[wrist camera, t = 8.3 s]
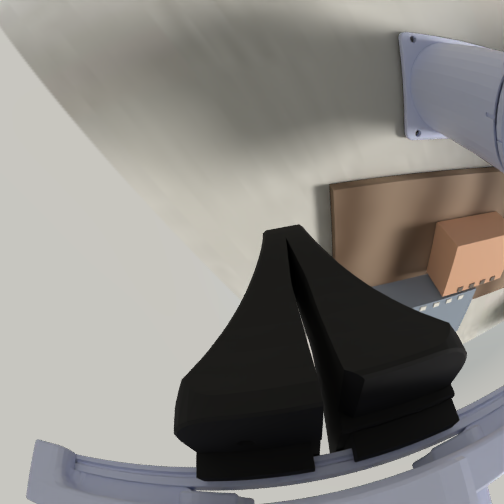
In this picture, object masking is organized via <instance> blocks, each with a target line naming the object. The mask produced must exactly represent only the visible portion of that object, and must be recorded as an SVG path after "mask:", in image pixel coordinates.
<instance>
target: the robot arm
mask: <svg viewBox="0 0 504 504" xmlns="http://www.w3.org/2000/svg"><path fill="white" fill-rule="evenodd" d="M411 36H412V38H413V42H411V40H410V37H411ZM399 46H400V55H401V65H402V77H403V92H404V119H405V136H406V137H407V138H408V139H410V140H423V139H451V140H453V141H455V142H456V143H458V144H460V145H461V146H463V147H465V148H466V149H468V150H470V151H471V152H473V153H474V154H476V155H478V156H479V157H481V158H482V159H484V160H485V161H487V162H488V163H490V164H491V165H493V166H494V167H495V168H497V169H498V170H500V171H501V172H503V173H504V52H503V51H499V50H493V49H490V48H487V47H483V46H479V45H475V44H471V43H467V42H463V41H458V40H454V39H448V38H443V37H438V36H432V35H425V34H418V33H410V32H401V33H400V34H399ZM417 130H418V134H417V135H415V133H416V131H417ZM297 306H298V307H297ZM298 309H299V310H298ZM299 312H300V314H299ZM300 315H301V318H302V321H303V324H304V327H305V330H306V333H307V336H308V339H309V342H310V346H311V350H312V354H313V359H314V363H313V360H312V356H311V353H310V350H309V346H308V343H307V339H306V336H305V332H304V329H303V325H302V322H301V318H300ZM466 356H467V352H466V351H465V348H464V346H463V344H462V343H461V340H460V339H459V337H458V335H457V333H456V332H455V331H454V329H453V328H452V326H451V325H450V323H448V322H446V321H443V320H440V319H438V318H435V317H432V316H429V315H427V314H424V313H421V312H419V311H417V310H415V309H412V308H410V307H408V306H406V305H404V304H401V303H400V302H398V301H396V300H394V299H392V298H390V297H388V296H386V295H385V294H383V293H381V292H379V291H377V290H376V289H374V288H372V287H371V286H369V285H368V284H366V283H365V282H363V281H362V280H360V279H359V278H358V277H356V276H355V275H353V274H352V273H351V272H350V271H348V270H347V269H346V268H345V267H343V266H342V265H341V264H340V263H338V262H337V261H336V260H335V259H334V258H333V257H332V256H331V255H329V254H328V253H327V252H326V251H325V250H324V249H323V248H322V247H321V246H320V245H319V244H318V243H317V242H316V241H315V240H314V239H313V238H312V237H311V236H310V235H309V234H308V233H307V231H306V230H305V229H304V228H303V227H302V226H301V225H293V226H288V227H282V228H277V229H271V230H266V231H265V232H264V233H263V241H262V247H261V251H260V255H259V259H258V262H257V265H256V268H255V271H254V274H253V276H252V279H251V281H250V284H249V286H248V289H247V291H246V293H245V295H244V297H243V299H242V301H241V303H240V305H239V307H238V308H237V310H236V312H235V313H234V315H233V317H232V319H231V320H230V322H229V323H228V325H227V326H226V328H225V329H224V331H223V332H222V334H221V335H220V336H219V338H218V339H217V340H216V341H215V343H214V344H213V345H212V347H211V348H210V349H209V351H208V352H207V353H206V354H205V355H204V357H203V358H202V359H201V360H200V361H199V362H198V363H197V364H196V365H195V366H194V367H193V368H192V369H191V371H190V372H189V373H188V374H187V375H186V376H185V377H184V378H183V379H182V381H181V384H180V388H179V391H178V396H177V400H176V406H175V418H174V434H175V435H176V436H177V438H178V439H179V440H180V441H181V442H183V443H184V444H186V445H187V446H189V447H190V448H191V449H193V450H194V451H196V452H197V455H196V467H167V466H152V465H140V464H132V463H123V462H116V461H109V460H103V459H97V458H92V457H86V456H82V455H77V454H75V453H74V452H72V451H71V450H69V449H67V448H65V447H63V446H60V445H57V444H53V443H50V442H46V441H42V440H36V442H35V447H34V452H33V457H32V462H31V468H30V474H29V481H28V487H27V495H26V497H27V499H29V500H30V501H32V502H35V503H37V504H254V500H253V499H252V498H244V497H239V496H238V495H237V494H235V493H215V492H201V491H196V490H243V489H259V488H269V487H277V486H287V485H293V484H300V483H306V482H312V481H318V480H322V479H328V478H332V477H337V476H341V475H346V474H349V473H353V472H357V471H361V470H365V469H368V468H372V467H375V466H378V465H382V464H384V463H387V462H391V461H394V460H397V459H399V458H402V457H405V456H408V455H410V454H413V453H415V452H418V451H421V450H423V449H426V448H428V447H430V446H433V445H435V444H437V443H440V442H442V441H444V440H446V439H448V438H451V437H453V436H455V435H457V434H458V435H457V436H455V437H453V438H451V439H450V440H448V441H446V442H444V443H442V444H440V445H438V446H436V447H434V448H433V449H432V450H431V452H430V453H428V454H427V455H426V456H424V457H422V458H421V459H419V460H417V461H416V462H414V463H413V465H412V466H413V469H412V470H409V471H406V472H403V473H400V474H397V475H394V476H391V477H388V478H385V479H382V480H379V481H375V482H372V483H368V484H365V485H362V486H358V487H354V488H350V489H346V490H341V491H338V492H333V493H328V494H323V495H319V496H313V497H308V498H302V499H296V500H290V501H282V502H275V503H266V504H492V503H491V498H490V494H489V490H488V485H489V484H491V483H492V482H494V481H495V480H496V479H498V478H499V477H500V476H502V475H503V474H504V386H502V387H500V388H499V389H497V390H495V391H493V392H492V393H490V394H488V395H487V396H485V397H483V398H481V399H479V400H477V401H475V402H473V403H471V404H469V405H467V406H465V407H463V408H461V409H459V410H457V411H456V409H455V406H454V404H453V401H452V399H451V398H453V397H454V390H453V388H452V386H451V383H452V381H453V380H454V378H455V377H456V375H457V374H458V373H459V371H460V370H461V368H462V367H463V365H464V363H465V361H466ZM314 364H315V367H314ZM315 368H316V370H315ZM323 412H324V417H325V423H326V429H327V436H328V442H329V450H330V454H325V455H320V440H321V439H322V426H323Z"/></svg>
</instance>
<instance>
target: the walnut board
mask: <svg viewBox="0 0 504 504" xmlns="http://www.w3.org/2000/svg"><path fill="white" fill-rule="evenodd" d="M330 201H331V221H332V252H333V258H334V259H335V260H336V261H337V262H338V263H340V264H341V265H342V266H343V267H345V268H346V269H347V270H348V271H350V272H351V273H352V274H353V275H355V276H356V277H358V278H359V279H360V280H362V281H363V282H365V283H366V284H368V285H369V286H371V287H373V286H378V285H382V284H387V283H391V282H396V281H400V280H404V279H408V278H412V277H417V276H421V275H425V274H428V273H427V272H426V270H427V266H428V262H429V258H430V253H431V249H432V244H433V239H434V234H435V229H436V223H437V222H440V221H445V220H451V219H456V218H462V217H467V216H473V215H478V214H484V213H489V212H495V211H497V212H498V213H499V214H500V215H501V216H502V217H503V218H504V173H503V172H501V171H500V170H498V169H497V168H495V167H486V168H471V169H458V170H446V171H435V172H425V173H415V174H406V175H397V176H388V177H380V178H372V179H365V180H357V181H350V182H343V183H336V184H330ZM475 287H476V291H475V293H474V295H473V298H472V299H474V298H477V297H480V296H483V295H486V294H488V293H491V292H494V291H496V290H499V289H501V288H504V270H503V272H502V275H501V277H500V278H498V279H495V280H493V281H490V282H487V283H484V284H481V285H478V286H475Z"/></svg>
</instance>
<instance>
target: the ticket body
mask: <svg viewBox="0 0 504 504" xmlns="http://www.w3.org/2000/svg"><path fill="white" fill-rule="evenodd" d="M372 288H374V289H376V290H377V291H379V292H381V293H383V294H385V295H386V296H388V297H390V298H392V299H394V300H396V301H398V302H400V303H401V304H404V305H406V306H408V307H410V308H412V309H415V310H417V311H419V312H421V313H424V314H427V315H429V316H432V317H435V318H438V319H440V320H443V321H446V322H448V323H450V325H451V326H452V328H453V329H454V331H457V330H458V328H459V326H460V324H461V322H462V320H463V318H464V315H465V313H466V311H467V309H468V307H469V304H470V302H471V300H472V298H473V295H474V293H475V291H476V287H472V288H469V289H466V290H463V291H460V292H457V293H453V294H450V295H447V296H443V297H442V295H441V294H440V292H439V291H438V289H437V287H436V286H435V284H434V283H433V281H432V279H431V278H430V276H429V275H428V274H425V275H421V276H417V277H412V278H408V279H404V280H400V281H396V282H391V283H387V284H382V285H378V286H373V287H372Z"/></svg>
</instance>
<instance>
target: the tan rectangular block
mask: <svg viewBox="0 0 504 504" xmlns="http://www.w3.org/2000/svg"><path fill="white" fill-rule="evenodd" d="M503 270H504V218H503V217H502V216H501V215H500V214H499V213H498V212H497V211H495V212H489V213H484V214H478V215H473V216H467V217H462V218H456V219H451V220H445V221H440V222H437V223H436V229H435V234H434V239H433V244H432V249H431V253H430V258H429V262H428V266H427V270H426V272H427V273H428V275H429V276H430V278H431V279H432V281H433V283H434V284H435V286H436V287H437V289H438V291H439V292H440V294H441V295H442V297H443V296H447V295H450V294H453V293H457V292H460V291H463V290H466V289H469V288H472V287H475V286H478V285H481V284H484V283H487V282H490V281H493V280H495V279H498V278H500V277H501V275H502V272H503Z"/></svg>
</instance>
